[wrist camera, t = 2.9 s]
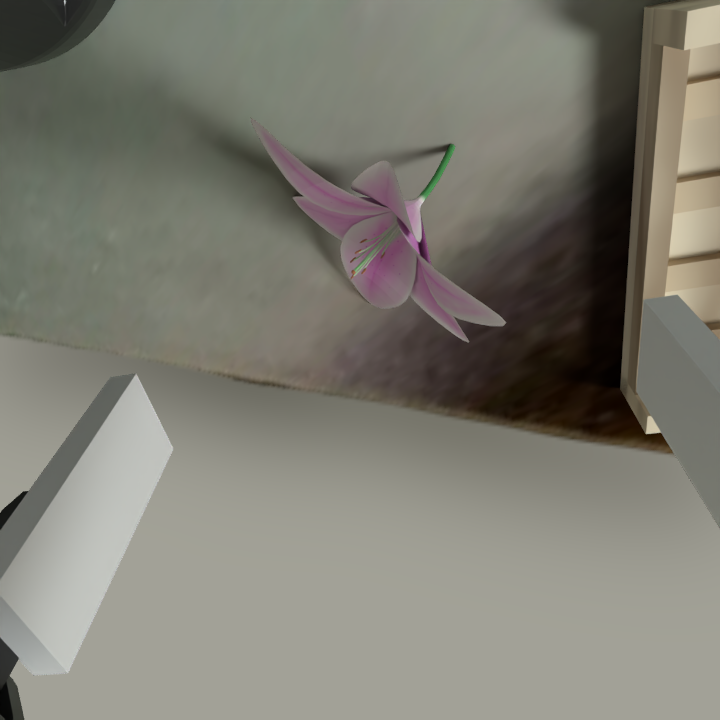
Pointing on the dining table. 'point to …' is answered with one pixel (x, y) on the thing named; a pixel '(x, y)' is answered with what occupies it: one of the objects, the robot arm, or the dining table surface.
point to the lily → (381, 238)
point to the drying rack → (675, 176)
